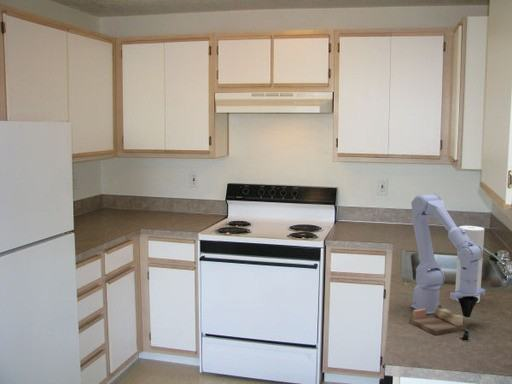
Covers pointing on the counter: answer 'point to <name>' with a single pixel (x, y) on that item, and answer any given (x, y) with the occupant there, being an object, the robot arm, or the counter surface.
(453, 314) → the hinged leg
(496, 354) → the counter surface
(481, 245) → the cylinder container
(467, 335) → the sculpture
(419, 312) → the block
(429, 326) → the board
